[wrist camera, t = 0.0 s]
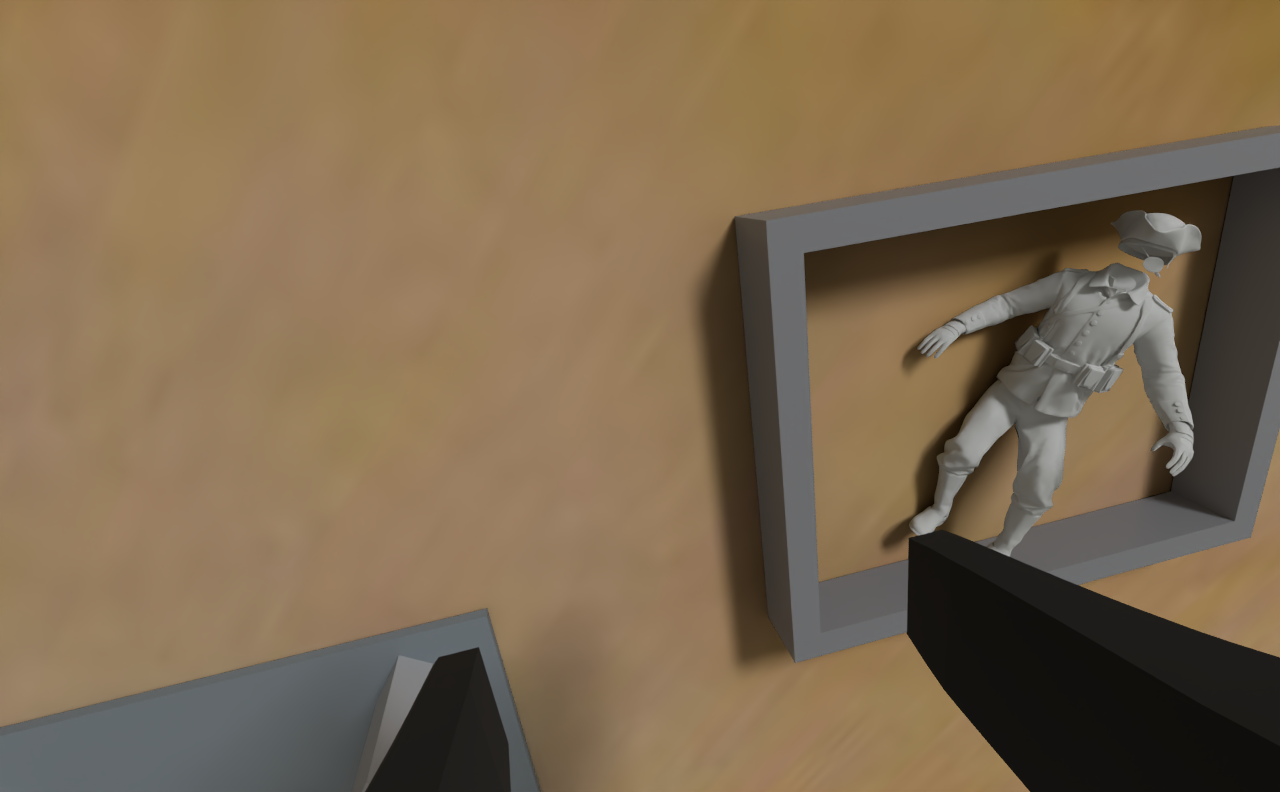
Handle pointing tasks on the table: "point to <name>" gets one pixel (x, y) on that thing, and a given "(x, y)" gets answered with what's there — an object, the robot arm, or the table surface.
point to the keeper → (390, 715)
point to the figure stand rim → (1070, 548)
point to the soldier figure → (1068, 370)
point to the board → (249, 723)
